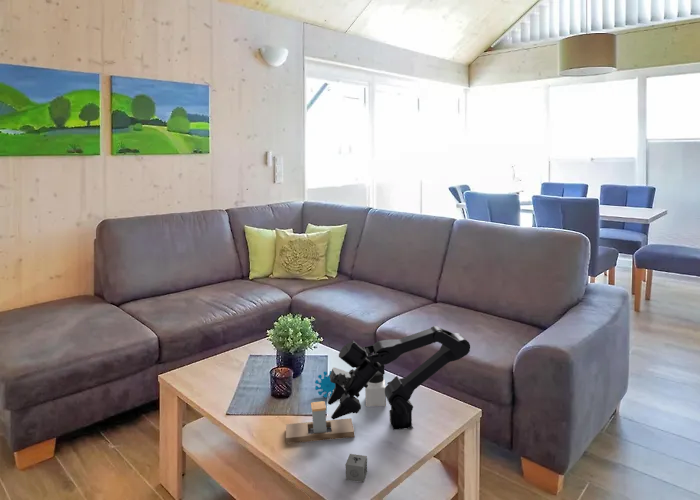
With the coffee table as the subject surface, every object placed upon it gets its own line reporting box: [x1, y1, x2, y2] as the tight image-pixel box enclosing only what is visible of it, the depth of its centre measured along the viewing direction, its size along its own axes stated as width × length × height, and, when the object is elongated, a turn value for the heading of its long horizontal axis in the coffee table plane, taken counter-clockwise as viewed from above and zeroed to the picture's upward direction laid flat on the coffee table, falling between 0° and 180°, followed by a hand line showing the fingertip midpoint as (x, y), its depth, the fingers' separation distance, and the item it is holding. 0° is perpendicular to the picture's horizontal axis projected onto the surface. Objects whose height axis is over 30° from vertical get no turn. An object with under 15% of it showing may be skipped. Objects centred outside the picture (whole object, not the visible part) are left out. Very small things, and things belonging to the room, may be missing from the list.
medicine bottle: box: [364, 371, 387, 408], centre depth 187 cm, size 7×7×12 cm
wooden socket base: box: [285, 417, 355, 444], centre depth 169 cm, size 22×8×2 cm, turn 96°
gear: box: [314, 370, 335, 399], centre depth 196 cm, size 11×6×10 cm
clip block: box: [310, 400, 327, 434], centre depth 169 cm, size 4×4×10 cm
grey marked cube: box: [345, 453, 368, 483], centre depth 148 cm, size 5×5×5 cm
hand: (330, 411), depth 168 cm, fingers open, 9 cm apart
